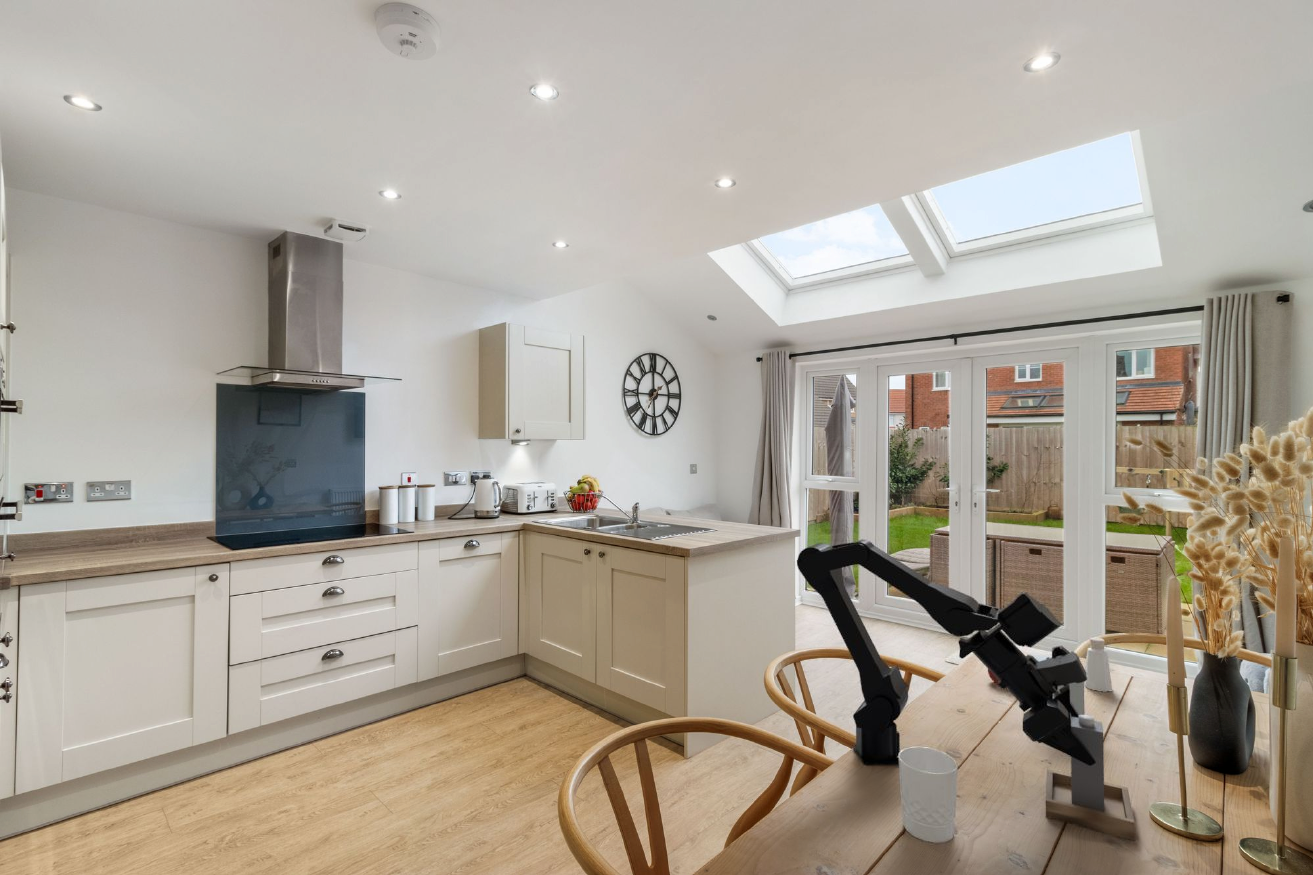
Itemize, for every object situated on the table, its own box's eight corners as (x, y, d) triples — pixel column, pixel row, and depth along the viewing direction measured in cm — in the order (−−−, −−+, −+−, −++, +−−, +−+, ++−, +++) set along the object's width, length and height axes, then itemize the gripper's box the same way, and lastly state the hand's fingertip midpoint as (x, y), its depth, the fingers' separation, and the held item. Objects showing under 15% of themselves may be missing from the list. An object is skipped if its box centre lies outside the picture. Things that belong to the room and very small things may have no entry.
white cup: (954, 853, 86) (953, 779, 86) (893, 834, 90) (893, 764, 90) (961, 823, 93) (960, 754, 93) (904, 807, 97) (904, 741, 97)
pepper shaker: (1118, 692, 140) (1117, 642, 141) (1093, 692, 141) (1093, 642, 141) (1101, 682, 146) (1100, 635, 146) (1077, 683, 146) (1077, 635, 146)
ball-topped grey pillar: (1071, 806, 95) (1070, 719, 95) (1071, 793, 99) (1070, 709, 99) (1104, 814, 93) (1103, 725, 93) (1102, 801, 96) (1101, 715, 97)
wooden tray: (1045, 816, 94) (1045, 800, 94) (1047, 784, 103) (1046, 768, 103) (1134, 840, 89) (1134, 822, 89) (1127, 803, 98) (1127, 787, 98)
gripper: (1048, 650, 91) (1146, 748, 85) (1050, 619, 106) (1132, 699, 100) (987, 694, 95) (1076, 789, 89) (997, 658, 111) (1073, 737, 105)
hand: (1091, 750), depth 96 cm, fingers open, 9 cm apart
